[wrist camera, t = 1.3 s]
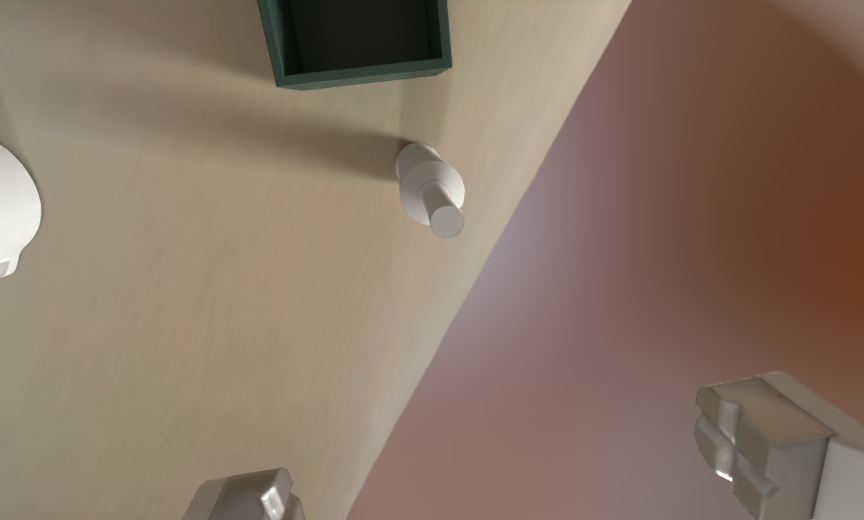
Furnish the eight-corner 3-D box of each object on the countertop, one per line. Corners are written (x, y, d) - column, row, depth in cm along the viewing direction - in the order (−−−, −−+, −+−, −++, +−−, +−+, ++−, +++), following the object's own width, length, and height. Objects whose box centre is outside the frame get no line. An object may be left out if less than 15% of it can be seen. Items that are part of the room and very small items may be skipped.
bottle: (401, 136, 47) (417, 168, 24) (445, 148, 48) (501, 191, 25) (390, 180, 49) (395, 252, 26) (432, 191, 50) (474, 270, 27)
